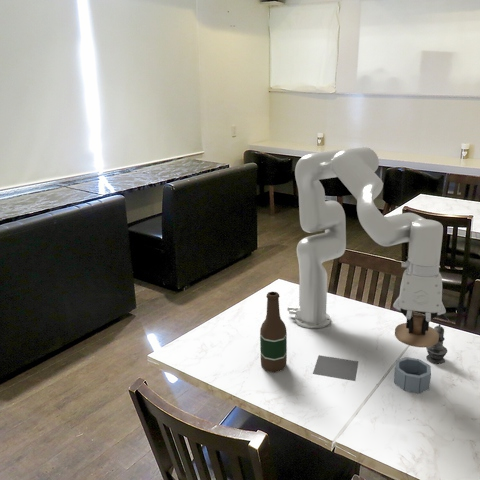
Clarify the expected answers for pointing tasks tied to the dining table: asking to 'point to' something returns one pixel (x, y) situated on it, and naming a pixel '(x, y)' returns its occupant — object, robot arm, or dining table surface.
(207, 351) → the dining table surface
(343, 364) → the mat
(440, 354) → the ornate incense burner
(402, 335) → the lid
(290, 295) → the dining table surface
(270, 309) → the beer bottle
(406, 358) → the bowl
